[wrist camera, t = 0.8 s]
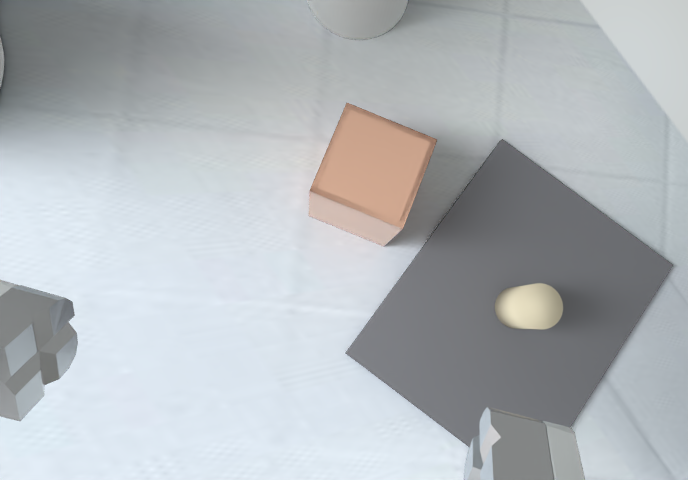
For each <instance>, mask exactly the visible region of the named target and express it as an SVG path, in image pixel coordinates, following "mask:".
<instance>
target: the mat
mask: <svg viewBox="0 0 688 480" xmlns="http://www.w3.org/2000/svg"><path fill="white" fill-rule="evenodd" d="M672 266H673V264H671V263H670V262H668V261H667V260H666V259H664V258H663V257H662V256H660V255H659V254H658V253H656V252H655V251H654V250H652V249H651V248H649V247H648V246H647V245H645V244H644V243H643V242H641V241H640V240H639V239H637V238H636V237H635V236H633V235H632V234H630V233H629V232H628V231H626V230H625V229H624V228H622V227H621V226H620V225H618V224H617V223H615V222H614V221H613V220H611V219H610V218H609V217H607V216H606V215H605V214H603V213H602V212H601V211H599V210H598V209H596V208H595V207H594V206H592V205H591V204H590V203H588V202H587V201H586V200H584V199H583V198H582V197H580V196H579V195H577V194H576V193H575V192H573V191H572V190H571V189H569V188H568V187H567V186H565V185H564V184H563V183H561V182H560V181H558V180H557V179H556V178H554V177H553V176H552V175H550V174H549V173H548V172H546V171H545V170H544V169H542V168H541V167H539V166H538V165H537V164H535V163H534V162H533V161H531V160H530V159H529V158H527V157H526V156H525V155H523V154H522V153H520V152H519V151H518V150H516V149H515V148H514V147H512V146H511V145H510V144H508V143H507V142H505V141H504V140H503V139H502V140H501V141H500V142H499V143H498V145H497V146H496V147H495V149H494V150H493V151H492V153H491V154H490V156H489V157H488V158H487V160H486V161H485V162H484V164H483V165H482V167H481V168H480V169H479V171H478V172H477V173H476V175H475V176H474V177H473V179H472V180H471V182H470V183H469V184H468V186H467V187H466V188H465V190H464V191H463V193H462V194H461V195H460V197H459V198H458V199H457V201H456V202H455V204H454V205H453V206H452V208H451V209H450V210H449V212H448V213H447V214H446V216H445V217H444V219H443V220H442V221H441V223H440V224H439V225H438V227H437V228H436V230H435V231H434V232H433V234H432V235H431V236H430V238H429V239H428V241H427V242H426V243H425V245H424V246H423V247H422V249H421V250H420V252H419V253H418V254H417V256H416V257H415V258H414V260H413V261H412V262H411V264H410V265H409V267H408V268H407V269H406V271H405V272H404V273H403V275H402V276H401V278H400V279H399V280H398V282H397V283H396V284H395V286H394V287H393V289H392V290H391V291H390V293H389V294H388V295H387V297H386V298H385V299H384V301H383V302H382V304H381V305H380V306H379V308H378V309H377V310H376V312H375V313H374V315H373V316H372V317H371V319H370V320H369V321H368V323H367V324H366V326H365V327H364V328H363V330H362V331H361V332H360V334H359V335H358V337H357V338H356V339H355V341H354V342H353V343H352V345H351V346H350V347H349V349H348V350H347V352H346V354H347V355H349V356H350V357H351V358H353V359H354V360H355V361H357V362H358V363H359V364H361V365H362V366H363V367H365V368H366V369H367V370H369V371H370V372H371V373H372V374H374V375H375V376H376V377H378V378H379V379H380V380H382V381H383V382H384V383H386V384H387V385H388V386H390V387H391V388H392V389H394V390H395V391H396V392H397V393H399V394H400V395H401V396H403V397H404V398H405V399H407V400H408V401H409V402H411V403H412V404H413V405H415V406H416V407H417V408H419V409H420V410H421V411H422V412H424V413H425V414H426V415H428V416H429V417H430V418H432V419H433V420H434V421H436V422H437V423H438V424H440V425H441V426H442V427H444V428H445V429H446V430H448V431H449V432H450V433H451V434H453V435H454V436H455V437H457V438H458V439H459V440H461V441H462V442H463V443H465V444H466V445H467V446H469V447H470V445H471V442H472V439H473V438H474V437H476V436H478V435H480V419H481V417H482V414H483V412H484V411H485V409H486V408H487V407H489V408H493V409H497V410H501V411H505V412H509V413H513V414H517V415H521V416H525V417H529V418H533V419H537V420H540V421H546V422H550V423H554V424H558V425H562V426H566V427H571V425H572V424H573V422H574V421H575V419H576V417H577V416H578V414H579V413H580V411H581V410H582V408H583V406H584V405H585V403H586V402H587V400H588V399H589V397H590V395H591V394H592V392H593V391H594V389H595V388H596V386H597V384H598V383H599V381H600V380H601V378H602V377H603V375H604V373H605V372H606V370H607V369H608V367H609V366H610V364H611V362H612V361H613V359H614V358H615V356H616V354H617V353H618V351H619V350H620V348H621V347H622V345H623V343H624V342H625V340H626V339H627V337H628V336H629V334H630V332H631V331H632V329H633V328H634V326H635V325H636V323H637V321H638V320H639V318H640V317H641V315H642V314H643V312H644V310H645V309H646V307H647V306H648V304H649V303H650V301H651V299H652V298H653V296H654V295H655V293H656V292H657V290H658V288H659V287H660V285H661V284H662V282H663V281H664V279H665V277H666V276H667V274H668V273H669V271H670V270H671V268H672Z"/></svg>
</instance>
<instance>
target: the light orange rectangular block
mask: <svg viewBox="0 0 688 480" xmlns="http://www.w3.org/2000/svg"><path fill="white" fill-rule="evenodd" d="M436 142H437V139H435V138H432V137H430V136H427V135H425V134H422V133H420V132H418V131H415V130H413V129H410V128H408V127H405V126H403V125H400V124H398V123H396V122H393V121H391V120H388V119H386V118H383V117H381V116H378V115H376V114H374V113H371V112H369V111H366V110H364V109H361V108H359V107H356V106H354V105H352V104H349V103H346V106H345V108H344V110H343V113H342V115H341V117H340V120H339V122H338V125H337V127H336V129H335V132H334V134H333V136H332V139H331V141H330V144H329V146H328V148H327V151H326V153H325V155H324V158H323V160H322V163H321V165H320V167H319V170H318V172H317V174H316V177H315V179H314V181H313V184H312V186H311V189H310V192H309V216H310V217H313V218H315V219H317V220H320V221H322V222H325V223H327V224H330V225H332V226H335V227H337V228H340V229H342V230H345V231H347V232H349V233H352V234H354V235H357V236H359V237H362V238H364V239H367V240H369V241H372V242H374V243H377V244H379V245H381V246H385V245H386V244H387V243H388V242H389V241H390V240H392V239H393V238H394V237H395V236H396V235H397V234H398V233H399V232H400V231H401V230H402V229H403V227H404V225H405V222H406V219H407V217H408V214H409V212H410V209H411V207H412V204H413V201H414V199H415V196H416V194H417V191H418V188H419V186H420V183H421V181H422V178H423V176H424V173H425V170H426V168H427V165H428V163H429V160H430V158H431V155H432V152H433V150H434V147H435V145H436Z"/></svg>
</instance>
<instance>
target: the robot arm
mask: <svg viewBox="0 0 688 480" xmlns="http://www.w3.org/2000/svg"><path fill="white" fill-rule="evenodd" d="M3 73H4V52H3V46H2V41H1V38H0V87H1V84H2V79H3ZM73 317H74V309H73V303H72V301H70V300H68V299H67V298H64V297H61V296H57V295H54V294H50V293H47V292H43V291H40V290H36V289H33V288H29V287H26V286H22V285H16V284H13V283H10V282H6V281H3V280H0V416H1V417H5V418H9V419H13V420H17V421H21V420H22V419H23V418H24V417H25V416H26V415H27V413H28V412H29V411H30V410H31V409H32V408H33V407H34V406H35V405H36V404H37V403H38V402H39V401H40V400H41V398H42V397H43V396H44V385H46V384H48V383H51V382H53V381H56V380H58V379H60V378H61V377H62V376H63V374H64V373H65V372H66V371H67V370H68V369H69V367H70V365H71V363H72V361H73V359H74V357H75V355H76V350H77V344H78V341H77V333H76V331H75V330H74V329H73V328H72V326H71V325H70V324H69V321H70V320H71V319H72V318H73ZM464 480H585V478H584V473H583V468H582V464H581V459H580V455H579V450H578V445H577V441H576V436H575V432H574V431H573V430H572V428H570V427H566V426H562V425H558V424H554V423H550V422H546V421H540V420H537V419H533V418H529V417H525V416H521V415H517V414H513V413H509V412H505V411H501V410H497V409H493V408H489V407H487V408H486V409H485V411H484V412H483V414H482V417H481V419H480V435H478V436H476V437H474V438H473V439H472V442H471V445H470V447H469V450H468V454H467V458H466V463H465V470H464Z"/></svg>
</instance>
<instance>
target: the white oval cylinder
mask: <svg viewBox="0 0 688 480" xmlns="http://www.w3.org/2000/svg"><path fill="white" fill-rule="evenodd" d="M408 1H409V0H307V2H308V5H309V8H310V10H311V12H312V14H313V15H314V17H315V18H316V19H317V21H318V22H319V23H320V24H321V25H322V26H323V27H325V28H326V29H327V30H329V31H330V32H332V33H334V34H336V35H338V36H341V37H344V38H348V39H355V40H364V39H371V38H375V37H378V36H380V35H382V34H384V33H386V32H388V31H389V30H391V29H392V28H393V27H394V26H395V25H396V24H397V23H398V22H399V21H400V19H401V18H402V16H403V14H404V12H405V10H406V7H407V4H408Z"/></svg>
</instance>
